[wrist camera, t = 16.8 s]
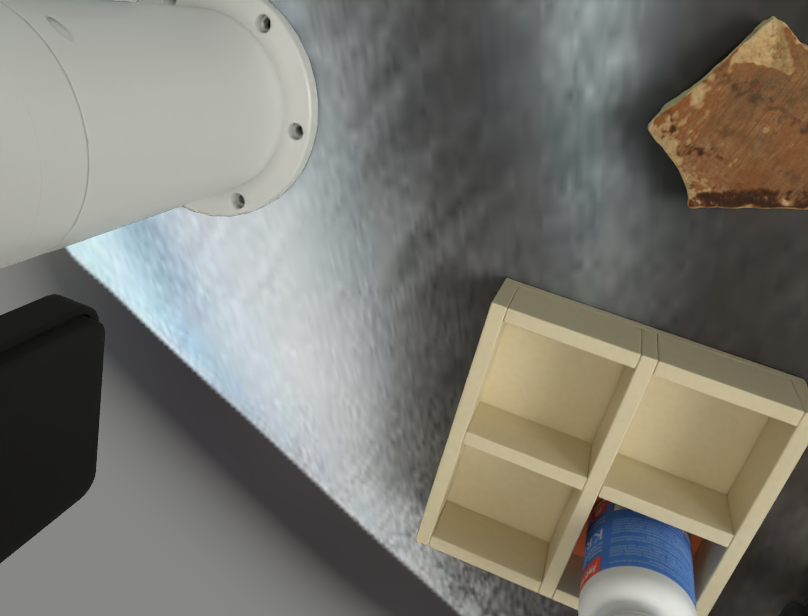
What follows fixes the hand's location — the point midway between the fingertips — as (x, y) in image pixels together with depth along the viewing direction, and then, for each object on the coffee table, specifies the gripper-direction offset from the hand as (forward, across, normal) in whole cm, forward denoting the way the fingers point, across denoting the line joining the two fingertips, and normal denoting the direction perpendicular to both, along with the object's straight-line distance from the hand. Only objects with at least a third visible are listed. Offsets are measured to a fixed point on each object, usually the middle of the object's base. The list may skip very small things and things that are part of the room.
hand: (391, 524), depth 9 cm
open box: (+28, -6, +14) cm, 32 cm away
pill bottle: (+28, -10, +18) cm, 34 cm away
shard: (+28, -8, -5) cm, 30 cm away
